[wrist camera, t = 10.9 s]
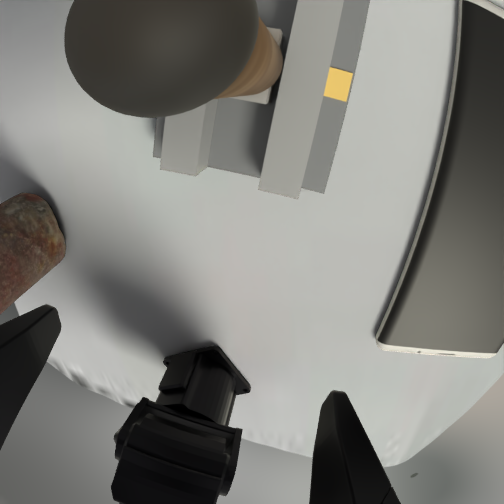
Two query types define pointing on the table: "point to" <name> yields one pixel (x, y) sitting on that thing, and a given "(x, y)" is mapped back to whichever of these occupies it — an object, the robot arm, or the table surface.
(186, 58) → the lever
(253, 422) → the table surface
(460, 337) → the smartphone
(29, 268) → the candle
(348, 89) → the slider console
